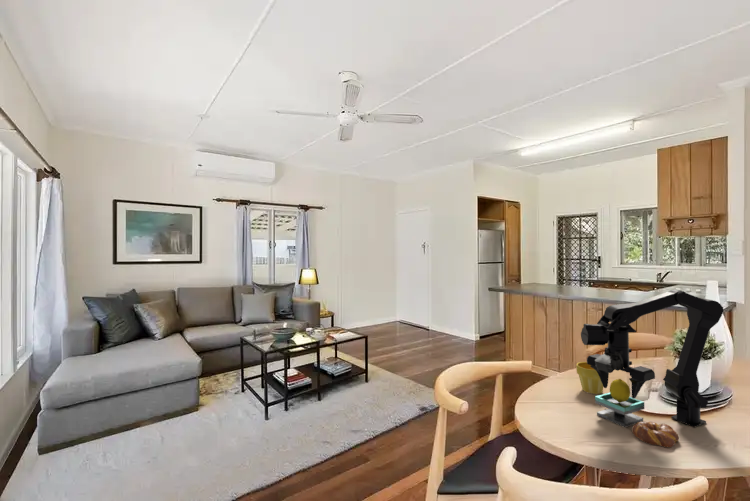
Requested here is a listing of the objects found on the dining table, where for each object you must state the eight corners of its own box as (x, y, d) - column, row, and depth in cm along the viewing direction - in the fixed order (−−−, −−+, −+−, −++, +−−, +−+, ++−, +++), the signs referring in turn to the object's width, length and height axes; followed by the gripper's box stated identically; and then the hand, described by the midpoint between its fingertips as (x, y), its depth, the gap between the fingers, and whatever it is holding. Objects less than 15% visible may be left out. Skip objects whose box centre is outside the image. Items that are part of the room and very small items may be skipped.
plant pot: (578, 383, 147) (578, 359, 147) (608, 389, 141) (608, 364, 141) (575, 392, 139) (574, 367, 139) (607, 398, 133) (606, 372, 133)
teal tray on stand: (614, 409, 125) (614, 391, 125) (644, 421, 116) (644, 402, 116) (595, 414, 121) (595, 396, 121) (624, 428, 112) (624, 408, 112)
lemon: (633, 407, 115) (633, 383, 114) (613, 406, 116) (614, 382, 115) (625, 398, 120) (625, 375, 120) (606, 397, 122) (606, 374, 121)
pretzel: (649, 425, 114) (649, 414, 114) (689, 443, 104) (689, 430, 104) (622, 433, 110) (622, 421, 110) (661, 452, 99) (661, 439, 99)
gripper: (574, 341, 123) (575, 387, 124) (631, 356, 106) (632, 409, 107) (597, 337, 128) (598, 381, 128) (655, 351, 110) (656, 402, 111)
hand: (619, 392), depth 118 cm, fingers open, 9 cm apart
